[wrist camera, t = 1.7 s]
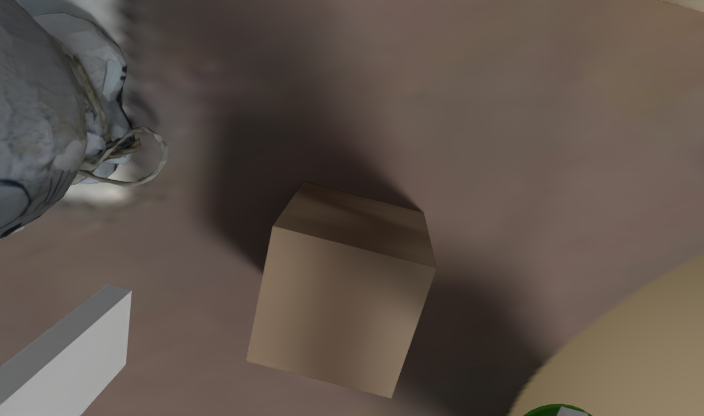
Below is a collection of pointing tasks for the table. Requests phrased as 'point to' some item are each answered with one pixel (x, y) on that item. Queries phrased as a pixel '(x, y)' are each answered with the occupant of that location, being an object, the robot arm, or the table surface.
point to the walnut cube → (342, 289)
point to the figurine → (58, 112)
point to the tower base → (688, 4)
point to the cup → (551, 410)
